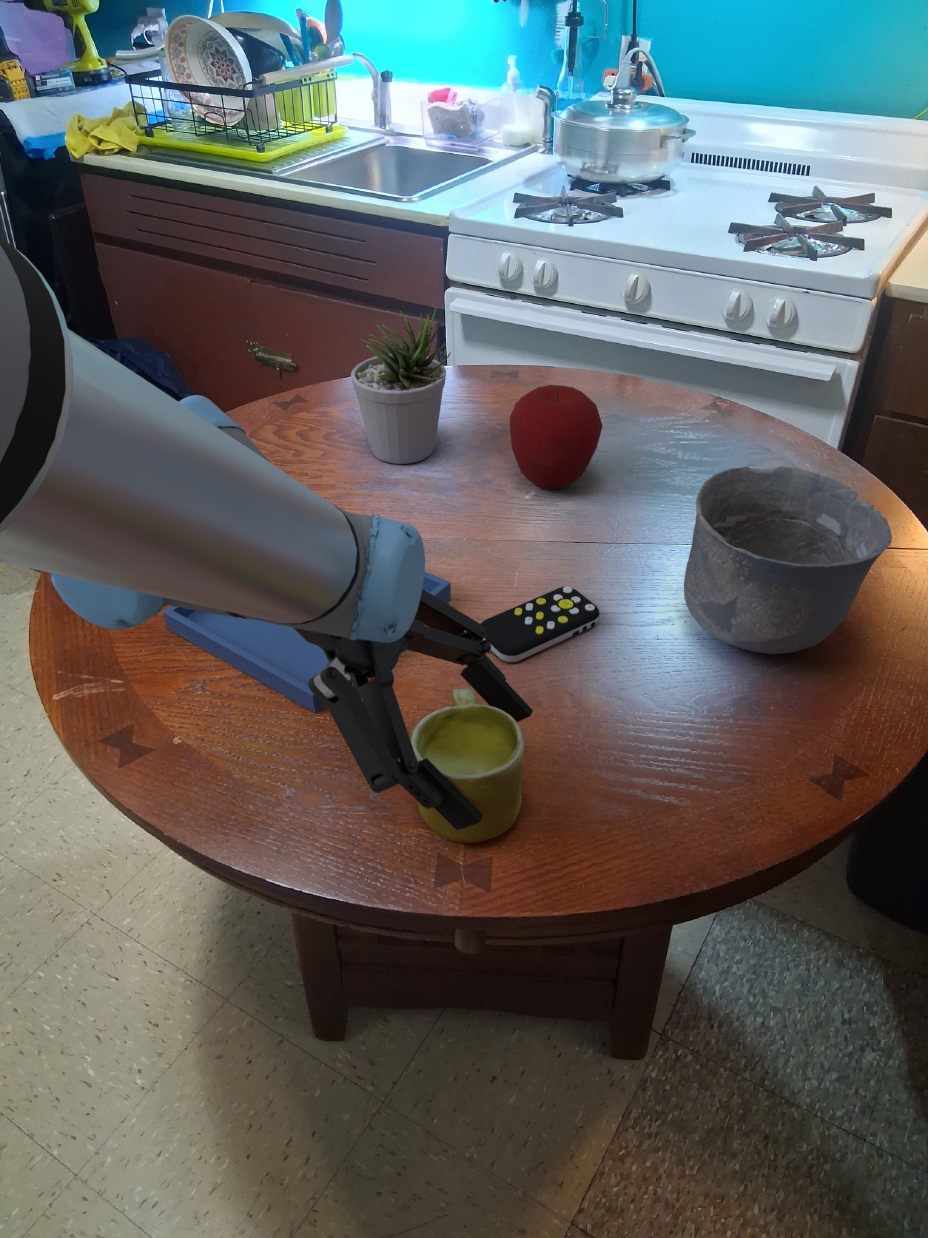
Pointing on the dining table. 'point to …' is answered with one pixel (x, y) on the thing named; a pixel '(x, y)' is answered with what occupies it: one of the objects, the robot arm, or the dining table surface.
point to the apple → (554, 435)
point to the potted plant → (401, 395)
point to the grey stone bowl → (778, 557)
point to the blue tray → (267, 646)
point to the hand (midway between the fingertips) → (497, 767)
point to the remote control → (539, 623)
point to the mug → (474, 763)
